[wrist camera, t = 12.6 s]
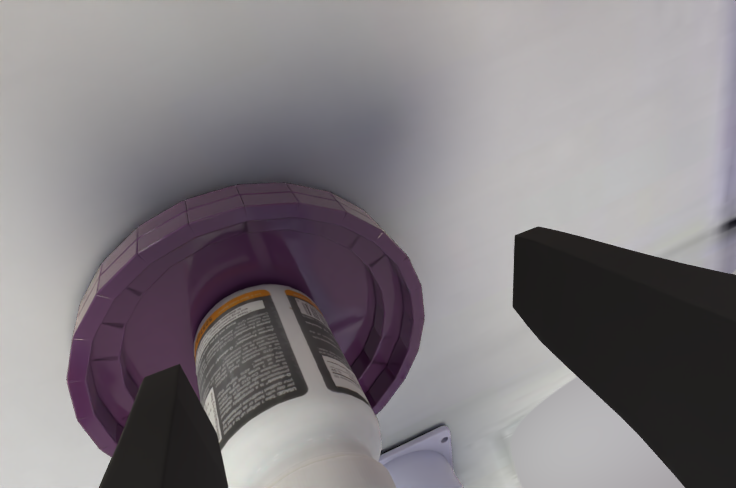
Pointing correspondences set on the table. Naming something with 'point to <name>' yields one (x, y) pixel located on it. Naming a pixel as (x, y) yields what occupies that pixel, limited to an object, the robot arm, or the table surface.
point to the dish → (233, 273)
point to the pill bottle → (284, 395)
